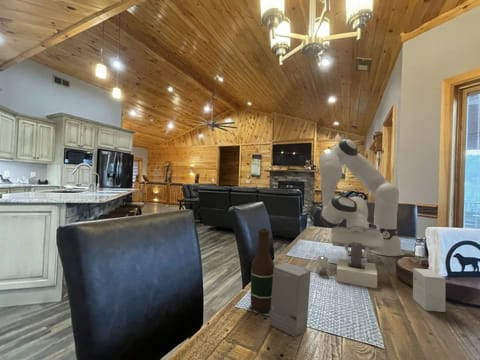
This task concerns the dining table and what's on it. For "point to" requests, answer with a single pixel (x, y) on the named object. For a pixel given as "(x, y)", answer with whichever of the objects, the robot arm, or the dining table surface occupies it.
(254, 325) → the dining table surface
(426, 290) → the small box
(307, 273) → the skincare box
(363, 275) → the socket block
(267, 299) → the beer bottle
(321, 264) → the short pin
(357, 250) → the dark gray tall block
